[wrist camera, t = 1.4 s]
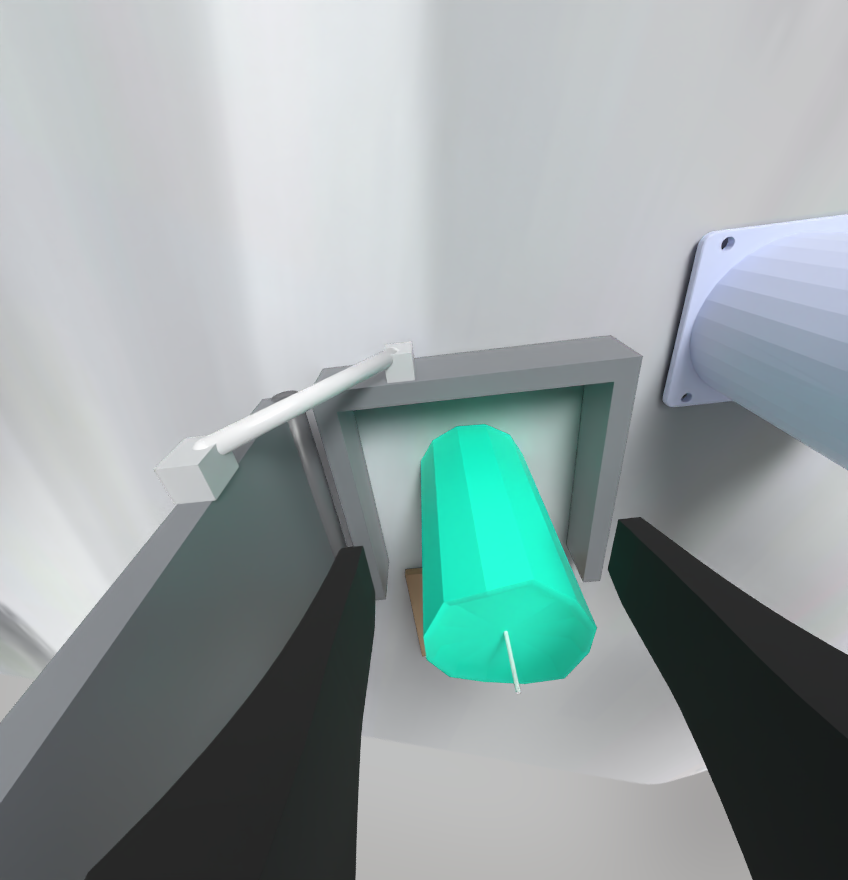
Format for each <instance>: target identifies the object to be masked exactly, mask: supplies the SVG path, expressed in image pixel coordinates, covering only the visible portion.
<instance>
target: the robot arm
mask: <svg viewBox="0 0 848 880" xmlns="http://www.w3.org/2000/svg"><path fill="white" fill-rule="evenodd" d="M726 238H728V243H727V245H726V246H725V247H724V248H723V249H721V244H722V242H723V240H724V239H726ZM686 393H687V396H686V397H685V398H683V399H681V398H682V396H683V395H684V394H686ZM728 401H735V402H736V403H738V404H739V405H741V406H743V407H744V408H746V409H748V410H749V411H751V412H753V413H754V414H756V415H758V416H759V417H761V418H762V419H764V420H766V421H767V422H769V423H771V424H772V425H774V426H776V427H777V428H779V429H781V430H782V431H784V432H785V433H787V434H789V435H790V436H792V437H794V438H795V439H797V440H799V441H800V442H802V443H804V444H805V445H807V446H808V447H810V448H812V449H813V450H815V451H817V452H818V453H820V454H822V455H823V456H825V457H827V458H828V459H830V460H831V461H833V462H835V463H836V464H838V465H840V466H841V467H843V468H845V469H846V470H848V214H844V215H836V216H829V217H821V218H813V219H805V220H797V221H789V222H781V223H774V224H766V225H758V226H750V227H742V228H734V229H726V230H718V231H712V232H709V233H707V234H706V235H705V236H703V237H702V239H701V240H700V242H699V244H698V247H697V251H696V255H695V260H694V264H693V268H692V273H691V277H690V281H689V286H688V290H687V294H686V299H685V303H684V307H683V312H682V316H681V320H680V325H679V329H678V333H677V338H676V342H675V346H674V351H673V355H672V359H671V364H670V368H669V372H668V376H667V381H666V385H665V389H664V394H663V402H664V403H665V404H666V405H667V406H669V407H681V406H691V405H700V404H709V403H719V402H728ZM608 571H609V574H610V576H611V579H612V581H613V584H614V586H615V589H616V591H617V593H618V596H619V598H620V600H621V602H622V605H623V607H624V608H625V610H626V612H627V614H628V616H629V618H630V619H631V621H632V623H633V625H634V626H635V628H636V630H637V632H638V634H639V635H640V637H641V639H642V641H643V642H644V644H645V646H646V648H647V649H648V651H649V653H650V655H651V656H652V658H653V660H654V662H655V664H656V665H657V667H658V669H659V671H660V672H661V674H662V676H663V678H664V679H665V681H666V683H667V685H668V686H669V688H670V690H671V692H672V694H673V696H674V698H675V700H676V702H677V704H678V705H679V707H680V710H681V712H682V714H683V716H684V718H685V720H686V723H687V725H688V727H689V729H690V731H691V733H692V736H693V738H694V740H695V742H696V744H697V746H698V749H699V751H700V753H701V755H702V758H703V760H704V762H705V765H706V767H707V769H708V772H709V774H710V776H711V778H712V781H713V783H714V785H715V788H716V790H717V792H718V794H719V797H720V799H721V802H722V804H723V806H724V809H725V811H726V814H727V816H728V819H729V821H730V823H731V826H732V829H733V831H734V833H735V836H736V838H737V841H738V843H739V846H740V848H741V851H742V853H743V855H744V858H745V861H746V863H747V866H748V868H749V871H750V874H751V876H752V879H753V880H848V655H847V654H845V653H843V652H842V651H840V650H838V649H836V648H834V647H833V646H831V645H829V644H827V643H826V642H824V641H822V640H821V639H819V638H817V637H815V636H814V635H812V634H810V633H809V632H807V631H805V630H804V629H802V628H800V627H798V626H797V625H795V624H793V623H792V622H790V621H788V620H787V619H785V618H784V617H782V616H780V615H779V614H777V613H776V612H774V611H772V610H771V609H769V608H768V607H766V606H765V605H763V604H762V603H760V602H759V601H757V600H756V599H754V598H753V597H751V596H749V595H748V594H746V593H745V592H743V591H742V590H740V589H739V588H737V587H736V586H735V585H733V584H732V583H730V582H729V581H727V580H726V579H724V578H723V577H722V576H720V575H719V574H717V573H716V572H714V571H713V570H712V569H710V568H709V567H707V566H706V565H705V564H703V563H702V562H700V561H699V560H698V559H696V558H695V557H694V556H692V555H691V554H690V553H688V552H687V551H685V550H684V549H683V548H681V547H680V546H679V545H677V544H676V543H675V542H673V541H672V540H671V539H669V538H668V537H667V536H665V535H664V534H663V533H661V532H660V531H659V530H657V529H656V528H655V527H653V526H652V525H651V524H649V523H648V522H646V521H645V520H644V519H642V518H641V517H638V518H628V519H618V524H617V528H616V533H615V538H614V542H613V547H612V552H611V557H610V561H609V566H608ZM374 628H375V589H374V585H373V581H372V578H371V574H370V570H369V566H368V562H367V558H366V555H365V551H364V547H363V546H355V547H345V548H341V549H340V551H339V552H338V554H337V556H336V558H335V560H334V562H333V564H332V566H331V568H330V570H329V572H328V574H327V576H326V578H325V580H324V581H323V583H322V585H321V587H320V589H319V591H318V592H317V594H316V596H315V598H314V599H313V601H312V603H311V604H310V606H309V608H308V610H307V611H306V613H305V615H304V616H303V618H302V620H301V621H300V623H299V625H298V626H297V628H296V629H295V631H294V632H293V634H292V635H291V637H290V639H289V640H288V642H287V643H286V645H285V646H284V648H283V649H282V651H281V652H280V654H279V655H278V657H277V658H276V660H275V661H274V663H273V664H272V665H271V667H270V668H269V670H268V671H267V672H266V674H265V675H264V677H263V678H262V679H261V681H260V682H259V683H258V685H257V686H256V687H255V689H254V690H253V691H252V693H251V694H250V695H249V697H248V698H247V699H246V700H245V702H244V703H243V704H242V705H241V707H240V708H239V709H238V710H237V712H236V713H235V714H234V715H233V717H232V718H231V719H230V720H229V722H228V723H227V724H226V725H225V727H224V728H223V729H222V730H221V731H220V733H219V734H218V735H217V736H216V737H215V739H214V740H213V741H212V742H211V743H210V744H209V746H208V747H207V748H206V749H205V750H204V751H203V752H202V753H201V755H200V756H199V757H198V758H197V759H196V760H195V761H194V762H193V763H192V765H191V766H190V767H189V768H188V769H187V770H186V771H185V772H184V773H183V775H182V776H181V777H180V778H179V779H178V780H177V781H176V782H175V783H174V785H173V786H172V787H171V788H170V789H169V790H168V791H167V792H166V793H165V794H164V796H163V797H162V798H161V799H160V800H159V801H158V802H157V803H156V804H155V805H154V806H153V807H152V808H151V809H150V810H149V811H148V812H147V813H146V814H145V815H144V816H143V817H142V818H141V819H140V820H139V821H138V822H137V823H136V824H135V825H134V826H133V827H132V828H131V829H130V830H129V831H128V832H127V833H126V834H125V836H124V837H123V838H122V839H121V840H120V841H119V842H118V843H117V844H116V845H115V846H114V847H113V848H112V849H111V850H110V851H109V852H108V853H107V854H106V855H105V856H104V857H103V858H102V859H101V860H100V861H99V862H98V863H97V864H96V865H95V866H94V867H93V868H92V869H91V870H90V871H89V872H88V873H87V875H86V877H85V879H84V880H355V875H356V838H357V812H358V811H357V810H358V787H359V764H360V747H361V732H362V721H363V712H364V705H365V697H366V690H367V683H368V675H369V668H370V660H371V652H372V645H373V637H374Z"/></svg>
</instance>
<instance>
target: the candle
mask: <svg viewBox="0 0 848 880" xmlns="http://www.w3.org/2000/svg"><path fill="white" fill-rule="evenodd" d="M421 511H422V582H423V639H424V645H425V652H426V659H427V660H428V661H429V662H430V663H432V664H433V665H434V666H436V667H437V668H438V669H440V670H441V671H442V672H444V673H445V674H446V675H448V676H449V677H454V678H461V679H468V680H475V681H482V682H497V683H514V685H515V690H516V694H520V693H521V692H520V687H519V684H528V683H535V682H543V681H550V680H557V679H564V678H565V677H566V676H567V675H568V674H569V673H570V672H571V671H572V670H573V669H574V668H575V667H576V666H577V665H578V664H579V663H580V662H581V661H582V660H583V659H584V657H585V656H586V655H587V654H588V653H589V652H590V649H591V645H592V642H593V639H594V636H595V632H596V629H597V627H596V625H595V622H594V620H593V618H592V615H591V613H590V611H589V608H588V606H587V604H586V601H585V599H584V597H583V594H582V592H581V590H580V587H579V585H578V583H577V580H576V578H575V576H574V573H573V571H572V569H571V566H570V564H569V562H568V559H567V557H566V555H565V552H564V550H563V548H562V545H561V543H560V541H559V538H558V536H557V534H556V531H555V529H554V527H553V524H552V522H551V520H550V517H549V515H548V513H547V510H546V508H545V506H544V503H543V501H542V499H541V496H540V494H539V492H538V489H537V487H536V485H535V482H534V480H533V478H532V475H531V473H530V471H529V468H528V466H527V464H526V461H525V459H524V457H523V454H522V453H521V451H520V450H519V448H518V447H517V445H516V444H515V442H514V441H513V439H512V437H511V436H510V435H509V434H507V433H505V432H502V431H500V430H498V429H495V428H493V427H491V426H488V425H486V424H480V425H467V426H456V427H455V428H453V429H451V430H449V431H448V432H446V433H444V434H443V435H441V436H439V437H438V438H436V439H434V440H433V441H432V443H431V444H430V446H429V448H428V450H427V451H426V453H425V455H424V457H423V458H422V460H421Z"/></svg>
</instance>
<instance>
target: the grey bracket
mask: <svg viewBox="0 0 848 880" xmlns="http://www.w3.org/2000/svg"><path fill="white" fill-rule="evenodd" d="M642 357H643V356H642V355H640V354H639V353H637V352H636V351H634V350H633V349H631V348H629V347H628V346H626V345H625V344H623V343H622V342H620V341H619V340H617V339H616V338H614V337H613V336H611V335H610V336H601V337H592V338H584V339H575V340H567V341H558V342H549V343H541V344H532V345H523V346H515V347H506V348H498V349H489V350H480V351H472V352H463V353H455V354H446V355H437V356H429V357H420V358H414V353H413V345H412V341H410V342H401V343H393V344H385V348H384V351H382V352H380V353H378V354H376V355H374V356H372V357H370V358H368V359H365V360H363V361H361V362H359V363H357V364H355V365H351V366H343V367H334V368H325V369H323V370H322V371H321V373H320V375H319V377H318V378H317V380H316V382H315V383H314V385H312V386H310V387H308V388H305V389H303V390H301V391H299V392H298V391H286V392H282V393H279V394H277V395H275V396H273V397H272V398H269V399H262V401H261V402H260V403H259V404H258V406H257V407H256V408H255V409H254V410H253V412H252V413H251V414H250V415H249V416H247V417H245V418H243V419H241V420H239V421H237V422H235V423H233V424H231V425H229V426H227V427H225V428H223V429H221V430H219V431H216V432H214V433H212V434H210V435H208V436H198V437H189V438H185V439H184V440H183V441H182V442H181V443H180V444H179V445H178V446H177V447H175V448H174V449H173V450H172V451H171V452H170V453H169V454H168V455H167V456H166V457H165V458H164V459H163V460H162V461H161V462H160V463H159V464H158V465H157V466H156V467H155V468H154V469H153V470H154V472H155V473H156V475H157V477H158V478H159V480H160V482H161V483H162V485H163V487H164V488H165V490H166V492H167V493H168V495H169V497H170V499H171V500H172V502H173V504H177V505H176V507H175V508H174V509H173V510H172V512H171V513H170V514H169V515H168V517H167V518H166V519H165V520H164V521H163V523H162V524H161V525H160V526H159V528H158V529H157V530H156V531H155V533H154V534H153V535H152V536H151V538H150V539H149V540H148V541H147V542H146V544H145V545H144V546H143V547H142V549H141V550H140V551H139V552H138V554H137V555H136V556H135V557H134V558H133V560H132V561H131V562H130V563H129V565H128V566H127V567H126V568H125V570H124V571H123V572H122V573H121V575H120V576H119V577H118V578H117V579H116V581H115V582H114V583H113V584H112V586H111V587H110V588H109V589H108V591H107V592H106V593H105V594H104V595H103V597H102V598H101V599H100V600H99V602H98V603H97V604H96V605H95V607H94V608H93V609H92V610H91V612H90V613H89V614H88V615H87V616H86V618H85V619H84V620H83V621H82V623H81V624H80V625H79V626H78V628H77V629H76V630H75V631H74V633H73V634H72V635H71V636H70V637H69V639H68V640H67V641H66V642H65V644H64V645H63V646H62V647H61V649H60V650H59V651H58V652H57V653H56V655H55V656H54V657H53V658H52V660H51V661H50V662H49V663H48V665H47V666H46V667H45V668H44V670H43V671H42V672H41V673H40V674H39V676H38V677H37V678H36V679H35V681H34V682H33V683H32V684H31V686H30V687H29V688H28V689H27V691H26V692H25V693H24V694H23V695H22V697H21V698H20V699H19V701H18V702H17V703H16V704H15V706H14V707H13V708H12V709H11V710H10V711H9V713H8V714H7V715H6V716H5V718H4V719H3V720H2V721H1V723H0V880H84V879H85V877H86V875H87V873H88V872H89V871H90V870H91V869H92V868H93V867H94V866H95V865H96V864H97V863H98V862H99V861H100V860H101V859H102V858H103V857H104V856H105V855H106V854H107V853H108V852H109V851H110V850H111V849H112V848H113V847H114V846H115V845H116V844H117V843H118V842H119V841H120V840H121V839H122V838H123V837H124V836H125V834H126V833H127V832H128V831H129V830H130V829H131V828H132V827H133V826H134V825H135V824H136V823H137V822H138V821H139V820H140V819H141V818H142V817H143V816H144V815H145V814H146V813H147V812H148V811H149V810H150V809H151V808H152V807H153V806H154V805H155V804H156V803H157V802H158V801H159V800H160V799H161V798H162V797H163V796H164V794H165V793H166V792H167V791H168V790H169V789H170V788H171V787H172V786H173V785H174V783H175V782H176V781H177V780H178V779H179V778H180V777H181V776H182V775H183V773H184V772H185V771H186V770H187V769H188V768H189V767H190V766H191V765H192V763H193V762H194V761H195V760H196V759H197V758H198V757H199V756H200V755H201V753H202V752H203V751H204V750H205V749H206V748H207V747H208V746H209V744H210V743H211V742H212V741H213V740H214V739H215V737H216V736H217V735H218V734H219V733H220V731H221V730H222V729H223V728H224V727H225V725H226V724H227V723H228V722H229V720H230V719H231V718H232V717H233V715H234V714H235V713H236V712H237V710H238V709H239V708H240V707H241V705H242V704H243V703H244V702H245V700H246V699H247V698H248V697H249V695H250V694H251V693H252V691H253V690H254V689H255V687H256V686H257V685H258V683H259V682H260V681H261V679H262V678H263V677H264V675H265V674H266V672H267V671H268V670H269V668H270V667H271V665H272V664H273V663H274V661H275V660H276V658H277V657H278V655H279V654H280V652H281V651H282V649H283V648H284V646H285V645H286V643H287V642H288V640H289V639H290V637H291V635H292V634H293V632H294V631H295V629H296V628H297V626H298V625H299V623H300V621H301V620H302V618H303V616H304V615H305V613H306V611H307V610H308V608H309V606H310V604H311V603H312V601H313V599H314V598H315V596H316V594H317V592H318V591H319V589H320V587H321V585H322V583H323V581H324V580H325V578H326V576H327V574H328V572H329V570H330V568H331V566H332V564H333V562H334V560H335V558H336V556H337V554H338V552H339V551H340V549H341V548H345V547H347V545H346V541H345V538H344V535H343V532H342V528H341V525H340V522H339V519H338V516H337V512H336V509H335V506H334V503H333V499H332V496H331V493H330V490H329V487H328V483H327V480H326V477H325V474H324V470H323V467H322V464H321V461H320V458H319V454H318V451H317V448H316V445H315V441H314V438H313V435H312V432H311V429H310V425H309V422H308V419H307V416H306V411H308V410H310V409H312V408H313V412H314V415H315V418H316V422H317V425H318V428H319V432H320V435H321V439H322V442H323V445H324V449H325V452H326V455H327V459H328V462H329V465H330V469H331V472H332V475H333V479H334V482H335V486H336V489H337V492H338V496H339V499H340V502H341V506H342V509H343V512H344V516H345V519H346V523H347V526H348V529H349V533H350V536H351V539H352V543H353V546H354V547H355V546H363V547H364V551H365V555H366V558H367V562H368V566H369V570H370V574H371V578H372V581H373V585H374V589H375V600H383V599H386V591H387V578H388V566H389V559H388V555H387V551H386V546H385V542H384V538H383V534H382V529H381V525H380V521H379V517H378V513H377V508H376V504H375V500H374V496H373V491H372V487H371V483H370V479H369V474H368V470H367V466H366V462H365V458H364V453H363V449H362V445H361V441H360V436H359V432H358V428H357V424H356V419H355V415H354V411H353V410H361V409H370V408H380V407H389V406H398V405H407V404H416V403H425V402H434V401H443V400H452V399H461V398H470V397H479V396H488V395H497V394H506V393H515V392H524V391H533V390H542V389H551V388H560V387H569V386H579V385H584V393H583V402H582V411H581V420H580V429H579V438H578V447H577V456H576V464H575V473H574V482H573V491H572V500H571V509H570V518H569V527H568V536H567V547H568V549H569V551H570V554H571V556H572V558H573V560H574V563H575V565H576V567H577V569H578V572H579V574H580V576H581V578H582V581H583V582H591V581H600V579H601V573H602V568H603V563H604V557H605V552H606V547H607V542H608V536H609V531H610V526H611V521H612V515H613V510H614V505H615V500H616V494H617V489H618V484H619V478H620V473H621V468H622V463H623V457H624V452H625V447H626V442H627V436H628V431H629V426H630V420H631V415H632V410H633V405H634V399H635V394H636V389H637V384H638V378H639V373H640V368H641V363H642Z"/></svg>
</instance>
